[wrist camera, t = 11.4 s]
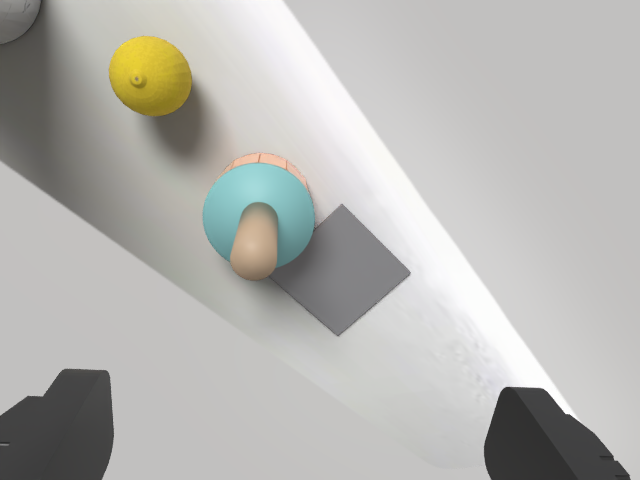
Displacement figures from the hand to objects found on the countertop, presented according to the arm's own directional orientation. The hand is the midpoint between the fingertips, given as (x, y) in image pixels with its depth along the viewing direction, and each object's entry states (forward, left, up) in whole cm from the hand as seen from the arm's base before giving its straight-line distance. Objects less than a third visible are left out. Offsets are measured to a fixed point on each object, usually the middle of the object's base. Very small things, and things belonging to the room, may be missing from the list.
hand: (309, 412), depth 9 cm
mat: (+6, -12, -33) cm, 36 cm away
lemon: (-10, +5, -33) cm, 35 cm away
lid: (-2, -5, -29) cm, 30 cm away
